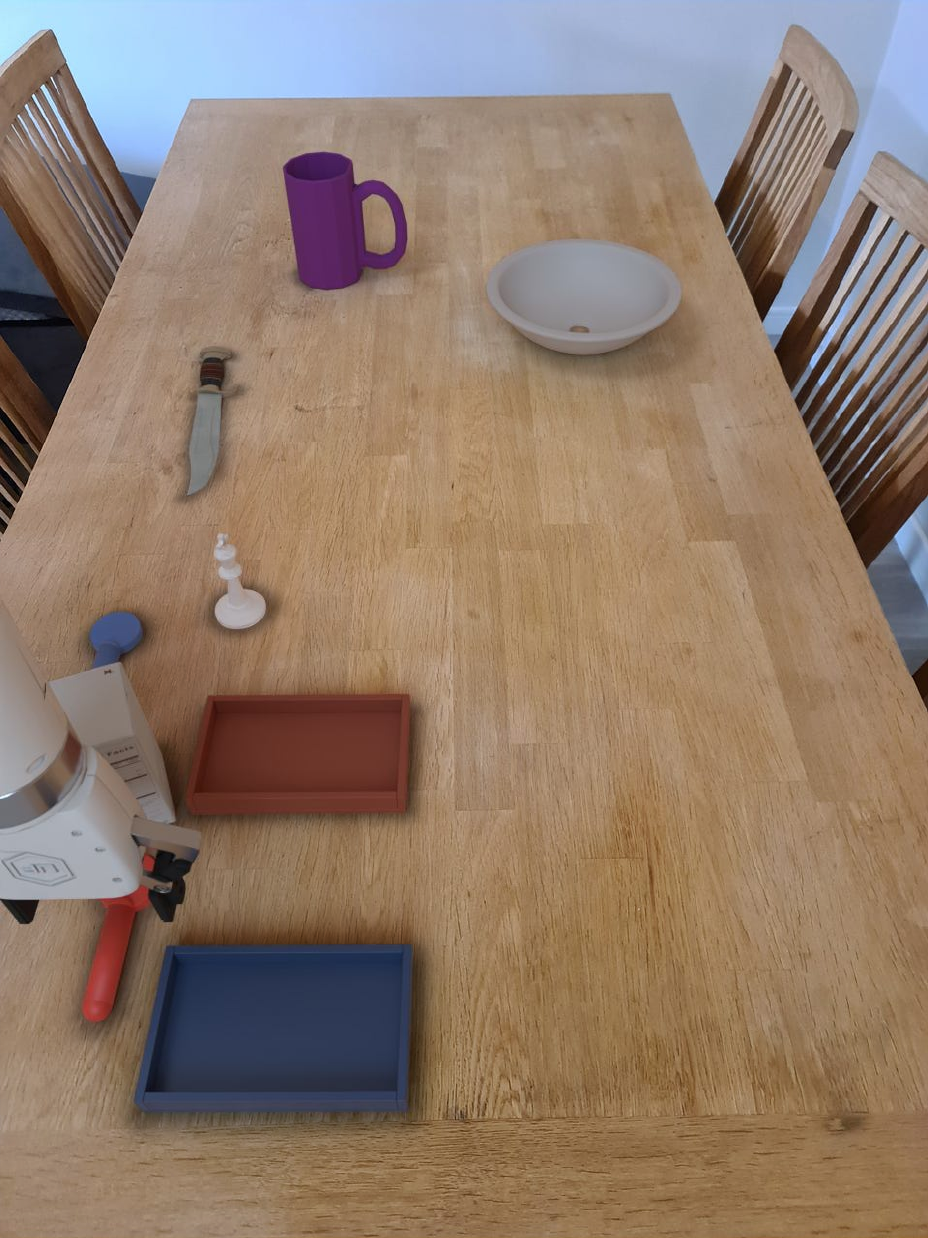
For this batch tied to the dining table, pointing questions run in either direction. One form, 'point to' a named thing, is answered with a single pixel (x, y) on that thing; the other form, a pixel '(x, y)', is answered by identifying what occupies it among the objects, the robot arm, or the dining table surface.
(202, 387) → the knife
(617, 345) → the white vessel sink
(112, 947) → the red spoon
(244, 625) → the chess piece
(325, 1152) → the dining table surface
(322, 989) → the slate-blue tray
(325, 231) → the mug
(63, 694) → the white packaging box
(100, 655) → the blue spoon
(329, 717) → the terracotta tray
